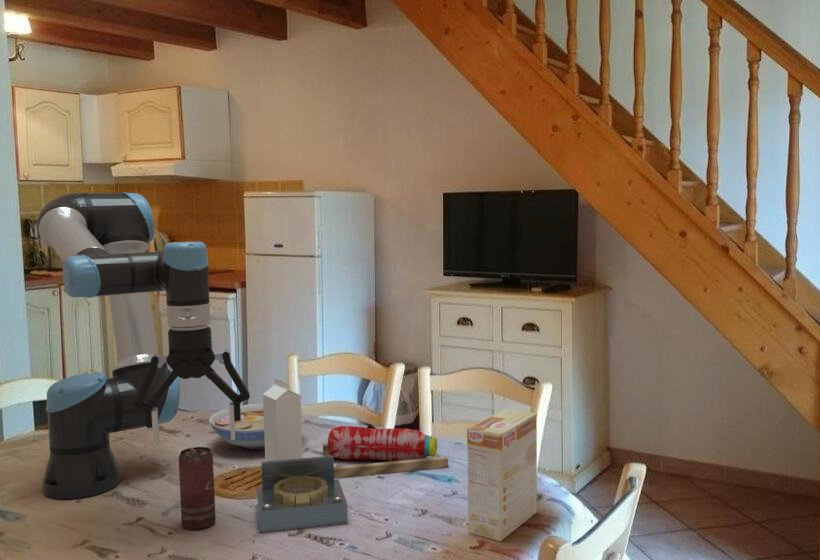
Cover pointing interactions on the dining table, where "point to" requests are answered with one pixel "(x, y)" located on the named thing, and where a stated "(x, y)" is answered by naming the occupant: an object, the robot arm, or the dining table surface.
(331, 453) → the water bottle
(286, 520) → the bolted ring bracket
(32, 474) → the dining table surface
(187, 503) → the can
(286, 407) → the milk
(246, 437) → the ramen bowl
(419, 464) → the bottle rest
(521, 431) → the coffeecake box
